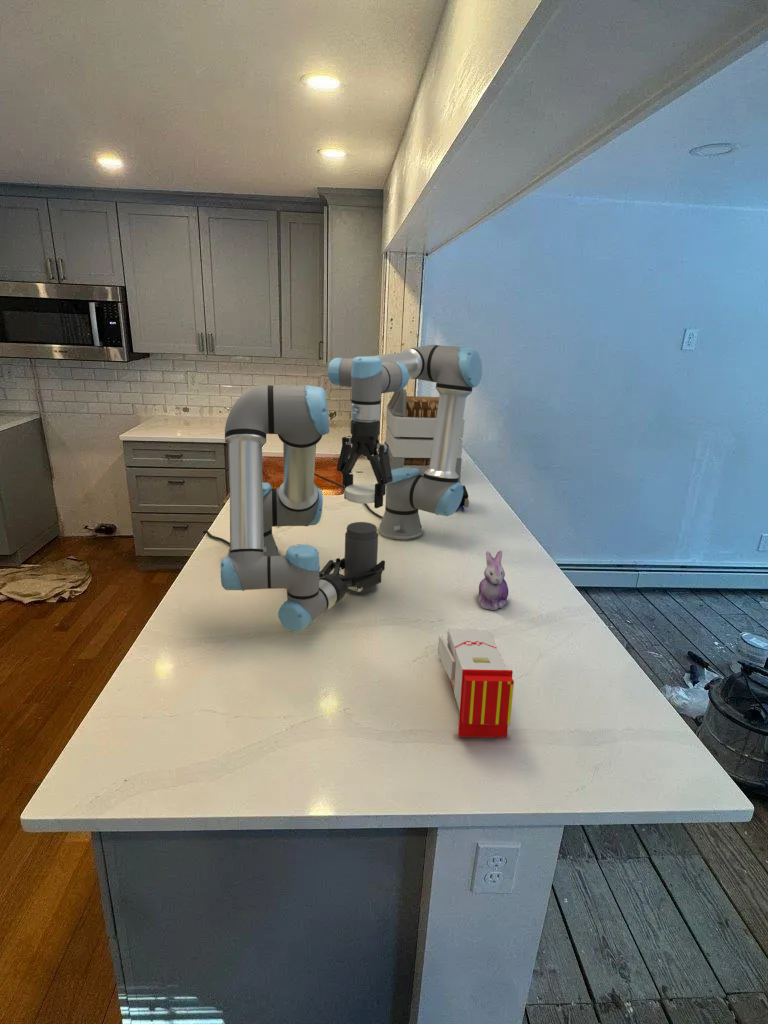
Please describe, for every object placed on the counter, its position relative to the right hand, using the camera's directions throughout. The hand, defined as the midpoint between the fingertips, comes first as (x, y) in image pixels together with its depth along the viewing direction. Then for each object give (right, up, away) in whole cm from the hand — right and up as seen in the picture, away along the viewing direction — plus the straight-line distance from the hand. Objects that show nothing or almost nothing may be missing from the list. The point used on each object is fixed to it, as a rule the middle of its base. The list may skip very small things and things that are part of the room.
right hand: (363, 502), depth 152 cm
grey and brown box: (+23, +16, +123) cm, 126 cm away
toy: (+23, -40, -33) cm, 57 cm away
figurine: (+35, -28, +3) cm, 45 cm away
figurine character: (+36, -1, +78) cm, 86 cm away
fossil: (-7, +28, +153) cm, 156 cm away
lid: (0, +3, -1) cm, 3 cm away
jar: (-1, -24, +8) cm, 25 cm away
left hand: (+1, -17, +10) cm, 19 cm away
